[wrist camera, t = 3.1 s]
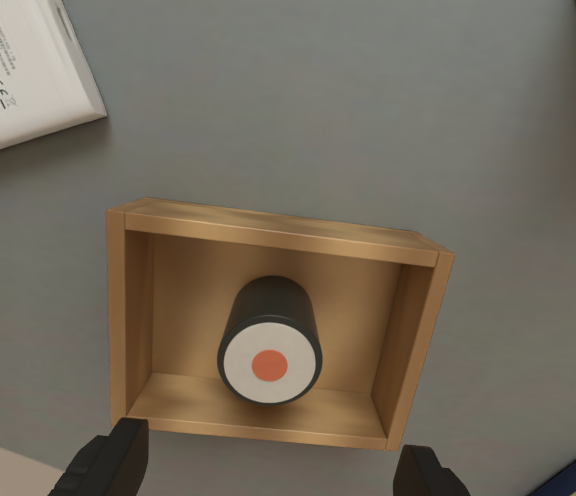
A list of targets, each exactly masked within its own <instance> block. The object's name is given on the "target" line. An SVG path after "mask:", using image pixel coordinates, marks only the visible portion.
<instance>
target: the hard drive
mask: <svg viewBox="0 0 576 496" xmlns="http://www.w3.org/2000/svg"><path fill="white" fill-rule="evenodd" d="M103 117H107V112H106V108H105V105H104V103H103V100H102V97H101V95H100V93H99V90H98V88H97V85H96V83H95V80H94V78H93V75H92V73H91V70H90V68H89V66H88V63H87V61H86V58H85V56H84V54H83V51H82V49H81V46H80V44H79V41H78V39H77V37H76V34H75V32H74V29H73V27H72V24H71V22H70V20H69V17H68V15H67V12H66V10H65V7H64V5H63V2H62V0H0V149H3V148H6V147H9V146H12V145H16V144H19V143H22V142H25V141H28V140H31V139H34V138H38V137H40V136H44V135H47V134H50V133H54V132H57V131H60V130H63V129H66V128H70V127H73V126H76V125H79V124H83V123H86V122H91V121H94V120H97V119H100V118H103Z"/></svg>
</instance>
